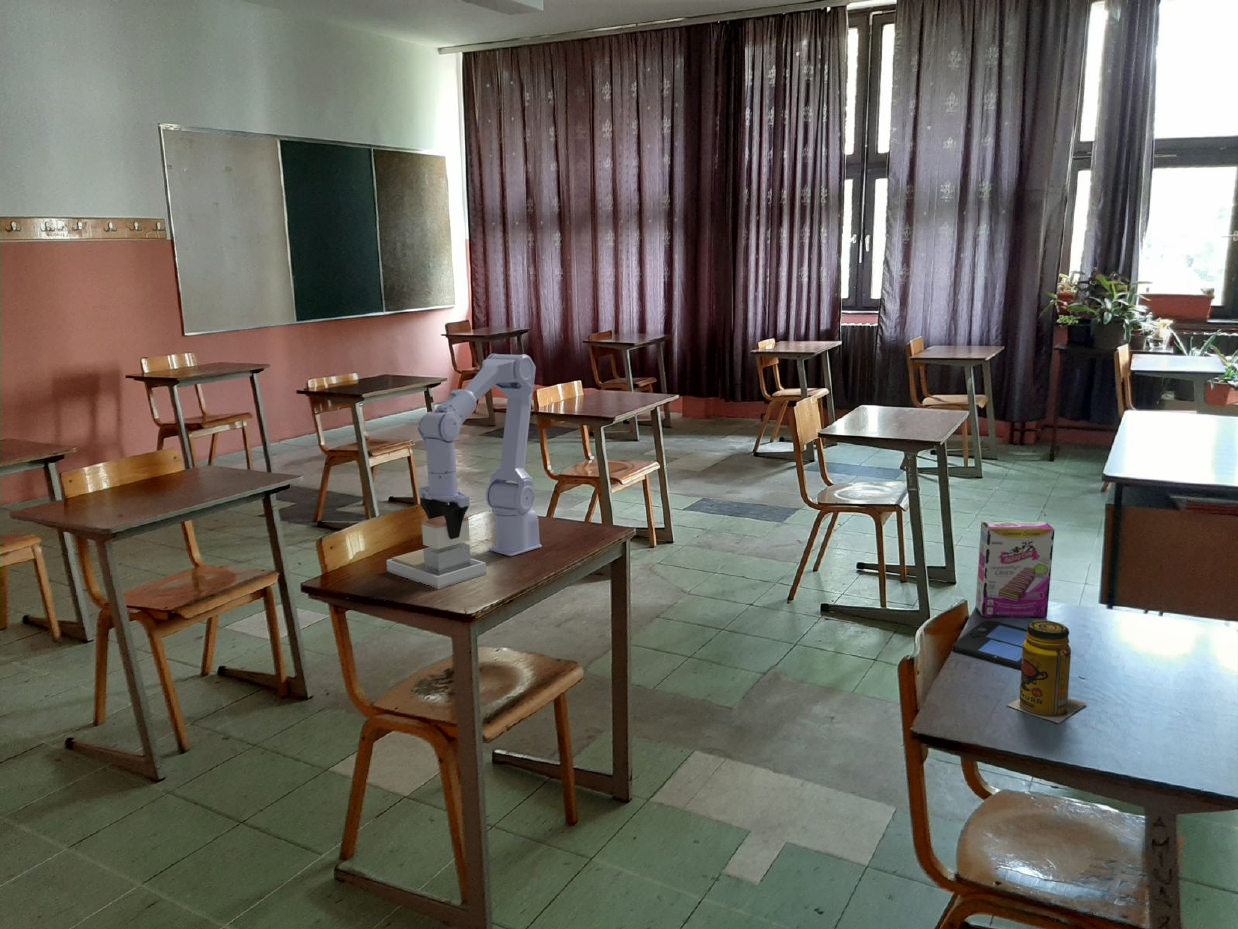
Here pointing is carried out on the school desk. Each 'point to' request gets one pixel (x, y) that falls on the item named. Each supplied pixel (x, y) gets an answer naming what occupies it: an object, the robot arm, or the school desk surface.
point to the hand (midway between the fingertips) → (446, 535)
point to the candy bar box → (1014, 568)
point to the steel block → (446, 559)
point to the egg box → (442, 533)
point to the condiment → (1046, 673)
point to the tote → (415, 570)
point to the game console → (994, 643)
